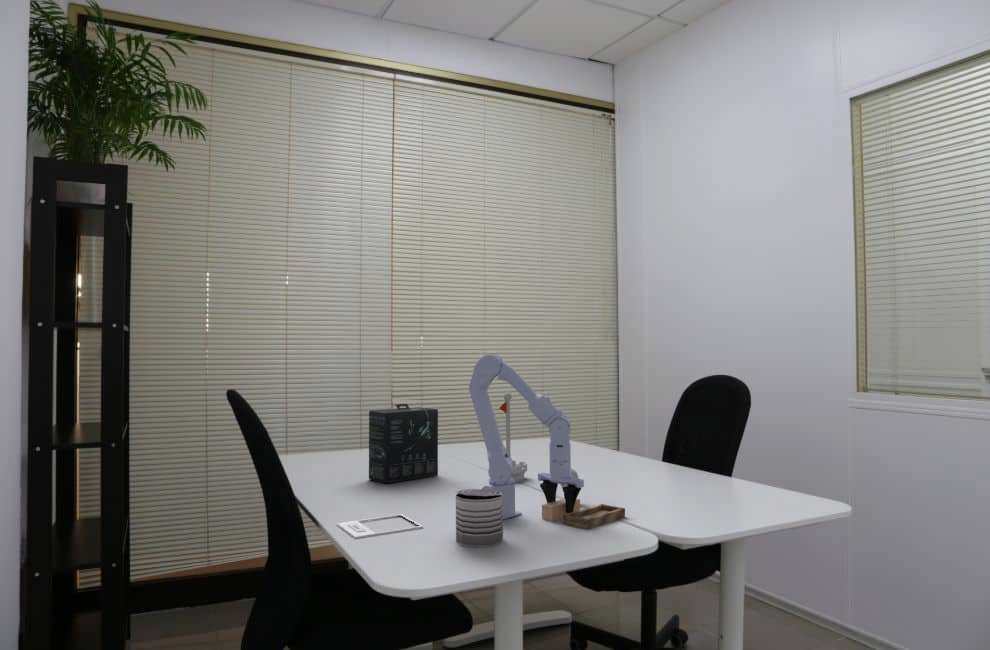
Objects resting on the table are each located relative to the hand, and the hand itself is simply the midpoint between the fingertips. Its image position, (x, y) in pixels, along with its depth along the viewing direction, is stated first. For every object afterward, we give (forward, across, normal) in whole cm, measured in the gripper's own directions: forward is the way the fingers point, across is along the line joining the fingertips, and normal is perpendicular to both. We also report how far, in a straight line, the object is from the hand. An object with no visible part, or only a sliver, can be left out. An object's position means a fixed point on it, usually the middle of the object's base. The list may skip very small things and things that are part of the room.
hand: (560, 510), depth 185 cm
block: (+2, 0, 0) cm, 2 cm away
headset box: (+2, +74, -4) cm, 75 cm away
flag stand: (+2, +46, -27) cm, 53 cm away
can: (+2, 0, +31) cm, 31 cm away
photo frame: (+2, +28, +40) cm, 49 cm away
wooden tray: (+1, -10, -2) cm, 10 cm away
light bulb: (+2, +8, -14) cm, 16 cm away
